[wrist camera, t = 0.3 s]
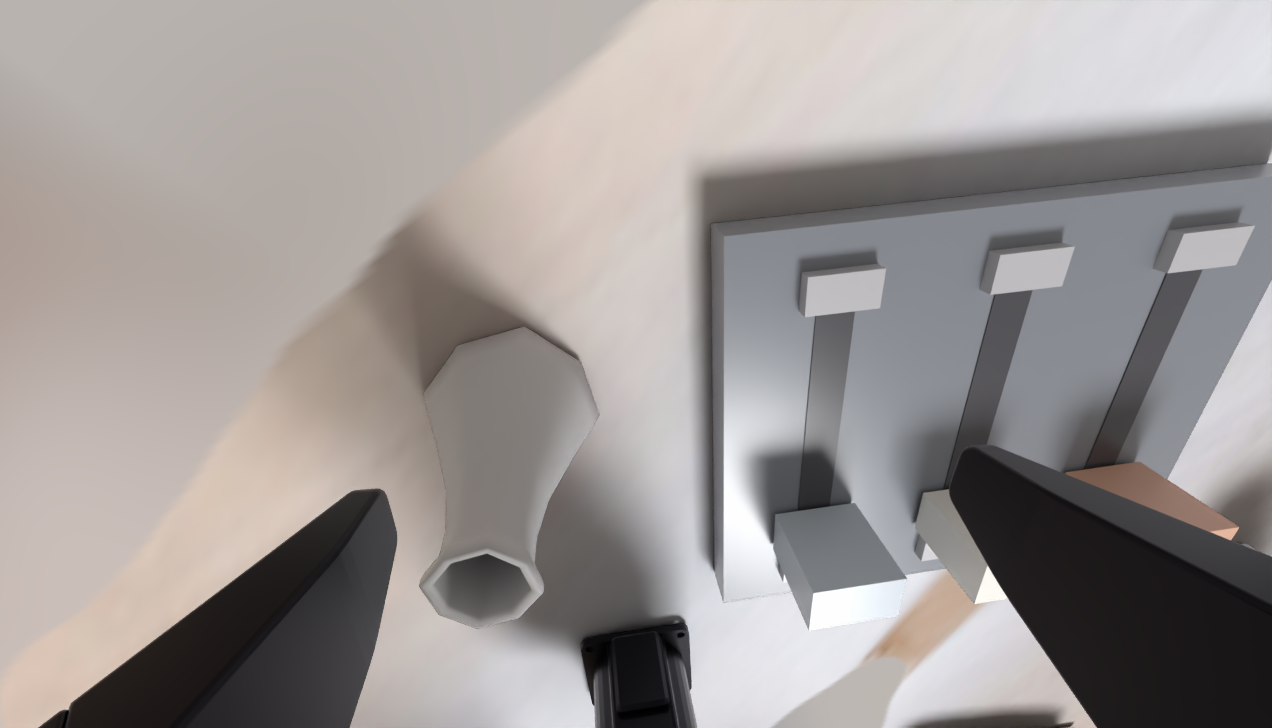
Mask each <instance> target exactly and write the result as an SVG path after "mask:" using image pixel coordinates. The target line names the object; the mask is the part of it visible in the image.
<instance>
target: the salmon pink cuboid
mask: <svg viewBox="0 0 1272 728" xmlns="http://www.w3.org/2000/svg"><path fill="white" fill-rule="evenodd" d="M1065 474H1067V475H1069V476H1072V477H1074V478H1077V479H1079V480H1082V481H1084V482H1087V483H1089V484H1092V485H1094V486H1097V487H1099V488H1102V489H1104V490H1107V491H1109V492H1112V493H1114V494H1117V495H1119V496H1122V497H1124V498H1127V499H1129V500H1132V501H1134V502H1137V503H1139V504H1142V505H1144V506H1147V507H1149V508H1152V509H1154V510H1157V511H1159V512H1161V513H1164V514H1166V515H1169V516H1171V517H1174V518H1176V519H1179V520H1181V521H1184V522H1186V523H1189V524H1191V525H1194V526H1196V527H1199V528H1201V529H1204V530H1206V531H1209V532H1211V533H1214V534H1216V535H1219V536H1221V537H1224V538H1226V539H1229V540H1232V538H1233V537H1234V535H1235V533H1236V532H1237V530H1238V529H1239V526H1237V525H1236V524H1234V523H1233V522H1231V521H1230V520H1228V519H1226V518H1225V517H1223V516H1222V515H1220V514H1219V513H1217V512H1216V511H1214V510H1213V509H1211V508H1210V507H1208V506H1207V505H1205V504H1204V503H1202V502H1201V501H1199V500H1198V499H1196V498H1194V497H1193V496H1191V495H1190V494H1188V493H1187V492H1185V491H1184V490H1182V489H1181V488H1179V487H1178V486H1176V485H1175V484H1173V483H1172V482H1170V481H1169V480H1167V479H1166V478H1164V477H1162V476H1161V475H1159V474H1158V473H1156V472H1155V471H1153V470H1152V469H1150V468H1149V467H1147V466H1146V465H1144V464H1143V463H1141V462H1133V463H1126V464H1120V465H1113V466H1106V467H1099V468H1092V469H1085V470H1078V471H1071V472H1066V473H1065Z"/></svg>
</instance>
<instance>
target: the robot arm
mask: <svg viewBox="0 0 1272 728" xmlns="http://www.w3.org/2000/svg"><path fill="white" fill-rule="evenodd" d="M949 495H950V499H951V501H952V503H953V505H954V507H955V509H956V510H957V512H958V514H959V516H960V517H961V519H962V521H963V523H964V524H965V526H966V528H967V530H968V532H969V533H970V535H971V537H972V539H973V540H974V542H975V544H976V546H977V547H978V549H979V551H980V553H981V555H982V556H983V558H984V560H985V562H986V563H987V565H988V567H989V569H990V570H991V572H992V574H993V576H994V577H995V579H996V581H997V582H998V584H999V586H1000V587H1001V589H1002V590H1003V592H1004V593H1005V595H1006V596H1007V598H1008V599H1009V601H1010V602H1011V604H1012V605H1013V607H1014V608H1015V610H1016V611H1017V613H1018V614H1019V615H1020V617H1021V618H1022V620H1023V621H1024V623H1025V624H1026V626H1027V627H1028V629H1029V630H1030V631H1031V633H1032V634H1033V636H1034V637H1035V639H1036V640H1037V642H1038V643H1039V644H1040V646H1041V647H1042V649H1043V650H1044V652H1045V653H1046V655H1047V656H1048V657H1049V659H1050V660H1051V662H1052V663H1053V665H1054V666H1055V668H1056V669H1057V671H1058V672H1059V673H1060V675H1061V676H1062V678H1063V679H1064V681H1065V682H1066V684H1067V685H1068V686H1069V688H1070V689H1071V691H1072V692H1073V694H1074V695H1075V697H1076V698H1077V700H1078V701H1079V702H1080V704H1081V705H1082V707H1083V708H1084V710H1085V711H1086V713H1087V714H1088V715H1089V717H1090V718H1091V720H1092V721H1093V723H1094V724H1095V726H1096V727H1097V728H1272V557H1271V556H1269V555H1266V554H1264V553H1261V552H1259V551H1256V550H1254V549H1251V548H1249V547H1246V546H1244V545H1241V544H1239V543H1236V542H1234V541H1231V540H1229V539H1226V538H1224V537H1221V536H1219V535H1216V534H1214V533H1211V532H1209V531H1206V530H1204V529H1201V528H1199V527H1196V526H1194V525H1191V524H1189V523H1186V522H1184V521H1181V520H1179V519H1176V518H1174V517H1171V516H1169V515H1166V514H1164V513H1161V512H1159V511H1157V510H1154V509H1152V508H1149V507H1147V506H1144V505H1142V504H1139V503H1137V502H1134V501H1132V500H1129V499H1127V498H1124V497H1122V496H1119V495H1117V494H1114V493H1112V492H1109V491H1107V490H1104V489H1102V488H1099V487H1097V486H1094V485H1092V484H1089V483H1087V482H1084V481H1082V480H1079V479H1077V478H1074V477H1072V476H1069V475H1067V474H1064V473H1062V472H1059V471H1057V470H1054V469H1052V468H1049V467H1047V466H1044V465H1042V464H1039V463H1037V462H1034V461H1032V460H1029V459H1027V458H1024V457H1022V456H1019V455H1017V454H1014V453H1012V452H1009V451H1007V450H1004V449H1002V448H999V447H997V446H994V445H978V446H969V447H966V448H965V449H964V450H963V451H962V452H961V453H960V456H959V459H958V461H957V464H956V467H955V470H954V473H953V476H952V479H951V481H950V485H949ZM396 547H397V531H396V527H395V523H394V520H393V516H392V513H391V509H390V505H389V502H388V498H387V495H386V494H385V492H384V491H383V490H381V489H365V490H355V491H352V492H350V493H348V494H347V495H346V496H344V497H343V498H342V499H340V500H339V501H338V502H336V503H335V504H334V505H332V506H331V507H330V508H328V509H327V510H326V511H324V512H323V513H322V514H320V515H319V516H318V517H316V518H315V519H314V520H313V521H311V522H310V523H309V524H307V525H306V526H305V527H303V528H302V529H301V530H299V531H298V532H297V533H295V534H294V535H293V536H291V537H290V538H289V539H287V540H286V541H285V542H283V543H282V544H281V545H279V546H278V547H277V548H276V549H274V550H273V551H272V552H270V553H269V554H268V555H266V556H265V557H264V558H262V559H261V560H260V561H258V562H257V563H256V564H254V565H253V566H252V567H250V568H249V569H248V570H246V571H245V572H244V573H242V574H241V575H240V576H239V577H237V578H236V579H235V580H233V581H232V582H231V583H229V584H228V585H227V586H225V587H224V588H223V589H221V590H220V591H219V592H217V593H216V594H215V595H213V596H212V597H211V598H209V599H208V600H207V601H205V602H204V603H203V604H201V605H200V606H199V607H198V608H196V609H195V610H194V611H192V612H191V613H190V614H188V615H187V616H186V617H184V618H183V619H182V620H180V621H179V622H178V623H176V624H175V625H174V626H172V627H171V628H170V629H168V630H167V631H166V632H164V633H163V634H162V635H161V636H159V637H158V638H157V639H155V640H154V641H153V642H151V643H150V644H149V645H147V646H146V647H145V648H143V649H142V650H141V651H139V652H138V653H137V654H135V655H134V656H133V657H131V658H130V659H129V660H127V661H126V662H125V663H123V664H122V665H121V666H119V667H118V668H117V669H116V670H114V671H113V672H112V673H110V674H109V675H108V676H106V677H105V678H104V679H102V680H101V681H100V682H98V683H97V684H96V685H94V686H93V687H92V688H90V689H89V690H88V691H86V692H85V693H84V694H82V695H81V696H80V697H78V698H77V699H76V700H74V701H73V702H72V703H71V705H70V707H69V710H62V711H60V712H58V713H57V714H56V715H54V716H53V717H52V718H50V719H49V720H48V721H46V722H45V723H44V724H42V725H41V726H40V727H39V728H349V727H350V724H351V721H352V718H353V715H354V712H355V709H356V706H357V703H358V700H359V697H360V694H361V691H362V688H363V685H364V682H365V679H366V675H367V672H368V669H369V666H370V663H371V659H372V656H373V653H374V649H375V645H376V641H377V637H378V632H379V628H380V623H381V618H382V613H383V609H384V604H385V599H386V594H387V590H388V585H389V580H390V575H391V571H392V566H393V561H394V556H395V552H396ZM581 652H582V657H583V662H584V666H585V671H586V676H587V681H588V686H589V690H590V695H591V700H592V704H593V705H594V706H595V728H697V725H696V720H695V715H694V710H693V705H692V700H691V695H690V689H691V687H692V686H691V666H690V645H689V632H688V627H687V625H685V624H674V625H668V626H661V627H655V628H649V629H642V630H636V631H630V632H623V633H617V634H610V635H604V636H598V637H591V638H586V639H584V640H583V641H582V642H581Z"/></svg>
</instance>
